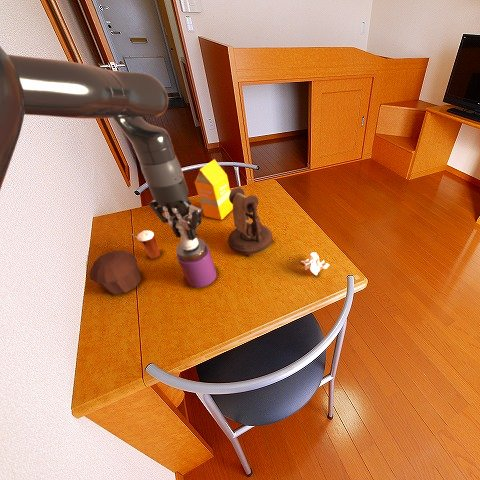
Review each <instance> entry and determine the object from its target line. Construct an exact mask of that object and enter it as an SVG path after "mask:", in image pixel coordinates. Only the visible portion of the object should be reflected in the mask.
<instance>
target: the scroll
mask: <svg viewBox="0 0 480 480" xmlns="http://www.w3.org/2000/svg"><path fill="white" fill-rule="evenodd" d="M229 201H230V202H231V203H232V204H233V209H232V217H233V225H234V229H233V230H232V231H231V232H230V233H229V234H228V236H227V244H228V246H229V248H230V250H232V251H233V252H234V253H237V254H240V255H246V256H247V257H251V255H253V254H259V253H260V252H263V251H265V250H266V249H268V248H269V246H270V245H271V244H272V242H273V232H272V230H271V229H270V228H269V227H267V226H266V225H263V224H262V222H261V221H260V219H261V218H260V216H259V214H258V205H259V198H258V197H257V196H256V195H253V194H251V195H248V196H246V195H245V190H244V188H242V187H239V186H238V187H234V188H233V189H232V190H230V195H229ZM250 219H251V220H252V222H251V221H249V220H250Z"/></svg>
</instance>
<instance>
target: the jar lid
mask: <svg viewBox="0 0 480 480" xmlns="http://www.w3.org/2000/svg"><path fill="white" fill-rule="evenodd" d="M196 238H197V241H198V245H197V247H196V248H195V249H192V250H184V249H182V248H181V245H180V243H179V244H178V245H177V246H176V248H175V252H176V256H177V255H178V257H179V258H180V259H181V260H183V261H195V260H198V259H200V258H201V257H203V256H204V255H205V254H206V252H207V247H206V245H207V244H206V242H205V240H203V238H199V237H196Z"/></svg>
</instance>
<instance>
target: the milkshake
mask: <svg viewBox="0 0 480 480" xmlns="http://www.w3.org/2000/svg"><path fill="white" fill-rule="evenodd" d="M130 234H131V235H132V236H133V237H135V238H136V239H137V241H138V242H139V244H140V245H141V246H142V248H143V249H144V251H145V252H146V254H147V256H148V257H149V258H150V259H157V258H159V257H160V256H161V251H160V248H159V245H158V242H157V240H156V236H155V233H154V231H152V230H142V231H141V232H139V233H138V234H137V236H136V235H135V234H134V233H132V232H131V233H130Z"/></svg>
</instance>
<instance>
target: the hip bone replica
mask: <svg viewBox="0 0 480 480" xmlns="http://www.w3.org/2000/svg"><path fill="white" fill-rule="evenodd" d="M309 257H310V258H308V259H305V260H301V261H300V263H302V264H304V269H305V271H307V270H310V272H311V273H312V274H313V275H315V276H318V273H319V272H320V271H321V270H322V269H323V270H326V269H328V267H330V264H329V263H327V262H326V263H325V260H322V261H320V257H319V255H318V253H317V251H316V252H315V251H314V252H310V253H309ZM323 264H324V265H323Z"/></svg>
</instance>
